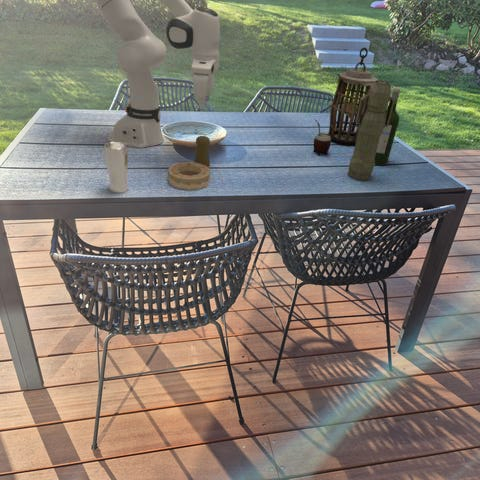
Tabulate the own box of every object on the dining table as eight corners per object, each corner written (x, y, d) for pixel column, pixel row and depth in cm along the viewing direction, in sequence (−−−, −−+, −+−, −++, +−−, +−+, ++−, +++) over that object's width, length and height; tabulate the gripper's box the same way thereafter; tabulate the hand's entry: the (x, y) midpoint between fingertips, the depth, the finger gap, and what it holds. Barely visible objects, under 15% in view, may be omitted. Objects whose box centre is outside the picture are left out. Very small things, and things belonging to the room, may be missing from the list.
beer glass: (109, 183, 144) (105, 140, 136) (131, 184, 145) (128, 141, 137) (106, 193, 138) (101, 149, 130) (128, 194, 139) (125, 150, 131)
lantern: (319, 142, 195) (337, 46, 174) (328, 130, 211) (345, 41, 189) (362, 150, 190) (386, 53, 168) (368, 138, 205) (390, 47, 184)
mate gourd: (330, 152, 185) (337, 118, 177) (325, 158, 179) (332, 122, 171) (313, 148, 187) (319, 114, 179) (308, 154, 181) (314, 119, 173)
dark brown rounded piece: (207, 169, 160) (208, 140, 154) (192, 166, 161) (192, 138, 155) (211, 163, 165) (213, 135, 159) (196, 160, 166) (197, 133, 160)
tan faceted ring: (164, 187, 145) (164, 176, 143) (174, 170, 157) (173, 160, 155) (205, 191, 144) (206, 181, 142) (212, 175, 156) (212, 164, 154)
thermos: (340, 171, 168) (360, 78, 149) (368, 171, 170) (391, 79, 151) (348, 181, 161) (371, 84, 142) (377, 181, 163) (403, 86, 144)
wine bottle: (387, 160, 182) (407, 88, 166) (386, 167, 175) (407, 92, 159) (368, 157, 184) (386, 84, 167) (366, 163, 177) (385, 89, 161)
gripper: (201, 56, 152) (200, 96, 160) (190, 68, 135) (189, 112, 143) (219, 58, 152) (217, 98, 160) (210, 70, 135) (208, 114, 142)
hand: (204, 104), depth 151 cm, fingers open, 8 cm apart
